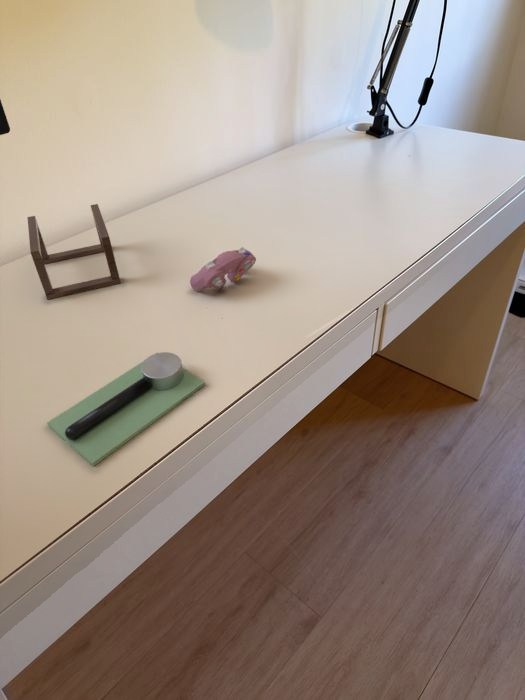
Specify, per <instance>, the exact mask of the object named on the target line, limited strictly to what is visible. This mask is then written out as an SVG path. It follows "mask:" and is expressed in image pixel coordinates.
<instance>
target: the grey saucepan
mask: <svg viewBox="0 0 525 700" xmlns="http://www.w3.org/2000/svg"><path fill="white" fill-rule="evenodd" d="M156 353H157V354H156ZM156 353H154V354H152V355H150V356H148V357H147V358H145V359H144V360H143V361H144V362H143V361H142V362H143V363H142V366H141V370H142V374H143V378H141V379H140V380H138V381H137V382H135V383H134V384H132V385H131V386H129V387H128V388H126V389H125V390H123V391H122V392H120V393H119V394H117V395H116V396H114V397H113V398H111V399H110V400H108V401H107V402H105V403H104V404H102V405H101V406H99V407H97V408H96V409H94V410H93V411H91V412H90V413H88V414H87V415H85V416H84V417H82V418H81V419H79V420H78V421H76V422H75V423H73V424H72V425H70V426H69V427H67V429H66V430H65V436H66V437H67V438H68V439H69V440H76V439H77V438H79V437H80V436H82V435H83V434H85V433H86V432H88V431H89V430H91V429H92V428H94V427H95V426H97V425H98V424H99V423H101V422H102V421H104V420H105V419H107V418H108V417H110V416H111V415H113V414H114V413H116V412H117V411H119V410H120V409H121V408H123V407H124V406H126V405H127V404H129V403H130V402H132V401H133V400H135V399H136V398H138V397H139V396H141V395H142V394H143V393H145V392H146V391H148V390H149V389H153V390H159V391H161V390H168V389H171V388H173V387H175V386H177V385H178V384H179V383H180V382H181V381H182V379H183V376H184V374H183V369H184V368H183V364H182V360H181V357H180V356H178V355H177V354H175V353H173V352H168V351H167V352H166V351H165V352H164V351H163V352H156Z"/></svg>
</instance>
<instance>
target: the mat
mask: <svg viewBox="0 0 525 700" xmlns="http://www.w3.org/2000/svg"><path fill="white" fill-rule="evenodd" d="M157 353H158V352H155V354H157ZM144 361H145V360H143V361H141V362H140V363H139V364H137V365H135V366H133V367H132V368H131V369H129V370H127V371H125V372H124V373H123V374H120V375H119V376H118V377H116V378H115V379H113V380H112V381H110V382H109V383H107V384H105V385H104V386H102V387H101V388H99V389H97V390H95V392H93V393H91V394H89V395H88V396H87V397H85V398H84V399H82V400H80V401H79V402H77V403H75V404H74V405H72V406H71V407H69V408H68V409H65V410H64V411H63V412H61V413H60V414H58V415H57V416H55V417H53V418H51V419H50V420H49V421H47V422H46V424H47V426H48V427H49V428H50V429H51V430H52V431H53V432H54V433H55V434H57V436H59V437H60V438H61V439H62V440H63V441H65V442H66V444H68V445H69V446H70V447H71V448H72V449H73V450H74V451H76V453H78V454H79V455H80V456H81V457H82V458H83V459H84V460H85V461H87V462H88V463H89V464H90V465H91V466H92V467H95V466H96V465H97V464H99V463H100V462H101V461H103V460H105V458H107V457H109V456H110V455H112V453H114V452H116V450H118V449H120V448H121V447H122V446H123V445H125V444H126V443H128V442H129V441H131V440H132V439H134V437H136V436H138V435H139V434H140V433H142V432H143V431H144V430H146V429H147V428H148V427H149V426H151V425H153V424H154V423H155V422H156V421H158V420H159V419H161V418H162V417H164V416H165V415H166V414H167V413H169V412H170V411H172V410H173V409H174V408H176V407H177V406H178V405H180V404H181V403H182V402H184V401H186V399H188V398H190V397H191V396H192V395H193V394H195V393H196V392H198V391H199V390H200V389H202V388H203V387H205V385H206V382H205V381H204V380H202V379H201V378H199V377H197V376H196V375H195V374H192V373H191V372H189V371H188V370H186V369H184V368H183V374H184V376H183V379H182V381H181V382H180V383H179V384H178V385H177V386H175V387H173V388H171V389H168V390H161V391H159V390H153V389H149V390H148V391H146V392H145V393H143V394H142V395H141V396H139V397H138V398H136V399H135V400H133V401H132V402H130V403H129V404H127V405H126V406H124V407H123V408H121V409H120V410H119V411H117V412H116V413H114V414H113V415H111V416H110V417H108V418H107V419H105V420H104V421H102V422H101V423H99V424H98V425H97V426H95V427H94V428H92V429H91V430H89V431H88V432H86V433H85V434H83V435H82V436H80V437H79V438H77V439H76V440H69V439H68V438H67V437H66V436H65V430H66V429H67V427H69V426H70V425H72V424H73V423H75V422H76V421H78V420H79V419H81V418H82V417H84V416H85V415H87V414H88V413H90V412H91V411H93V410H94V409H96V408H97V407H99V406H101V405H102V404H104V403H105V402H107V401H108V400H110V399H111V398H113V397H114V396H116V395H117V394H119V393H120V392H122V391H123V390H125V389H126V388H128V387H129V386H131V385H132V384H134V383H135V382H137V381H138V380H140V379H141V378H143V374H142V370H141V366H142V363H143V362H144Z"/></svg>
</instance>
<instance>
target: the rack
mask: <svg viewBox="0 0 525 700" xmlns="http://www.w3.org/2000/svg"><path fill="white" fill-rule="evenodd" d="M90 209H91V214H92V217H93V220H94V225H95V228H96V233H97V236H98V240H99V244H94V245H89V246H83V247H79V248H75V249H74V248H73V249H69V250H65V251H60V252H55V253H50V254H49V252H48V250H47V247H46V243H45V241H44V237H43V235H42V232H41V229H40V227H39V223H38V220H37V217H36V215H31V216H27V228H28V240H29V250H30V251H29V252H30V256H31V258H32V261H33V264H34V266H35V270H36V272H37V274H38V278H39V280H40V284H41V286H42V289H43V291H44V294H45V297H46V300H53V299H56V298H62V297H66V296H69V295H75V294H79V293H83V292H87V291H92V290H97V289H100V288H105V287H110V286H113V285H118V284H121V278H120V274H119V270H118V267H117V263H116V262H117V261H116V258H115V254H114V251H113V246H112V243H111V238H110V235H109V232H108V229H107V227H106V224H105V221H104V218H103V214H102V212H101V209H100V207H99V204H98V203H95V204H90ZM98 253H104V256H105V261H106V264H107V267H108V272H109V275H108V276H103V277H99V278H94V279H90V280H86V281H82V282H77V283H72V284H68V285H64V286H63V285H62V286H59V287H55V288H54V287H53V285H52V281H51V279H50V276H49V273H48V270H47V267H46V264H52V263H56V262H61V261H65V260H66V261H67V260H70V259H75V258H79V257H84V256H90V255H93V254H98Z"/></svg>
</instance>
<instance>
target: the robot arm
mask: <svg viewBox="0 0 525 700" xmlns="http://www.w3.org/2000/svg"><path fill="white" fill-rule="evenodd" d="M10 131H11V127H10V124H9V120H8V118H7V115H6V112H5V108H4V106H3V103H2V100H1V99H0V136H3V135H7V134H9V133H10Z"/></svg>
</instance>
